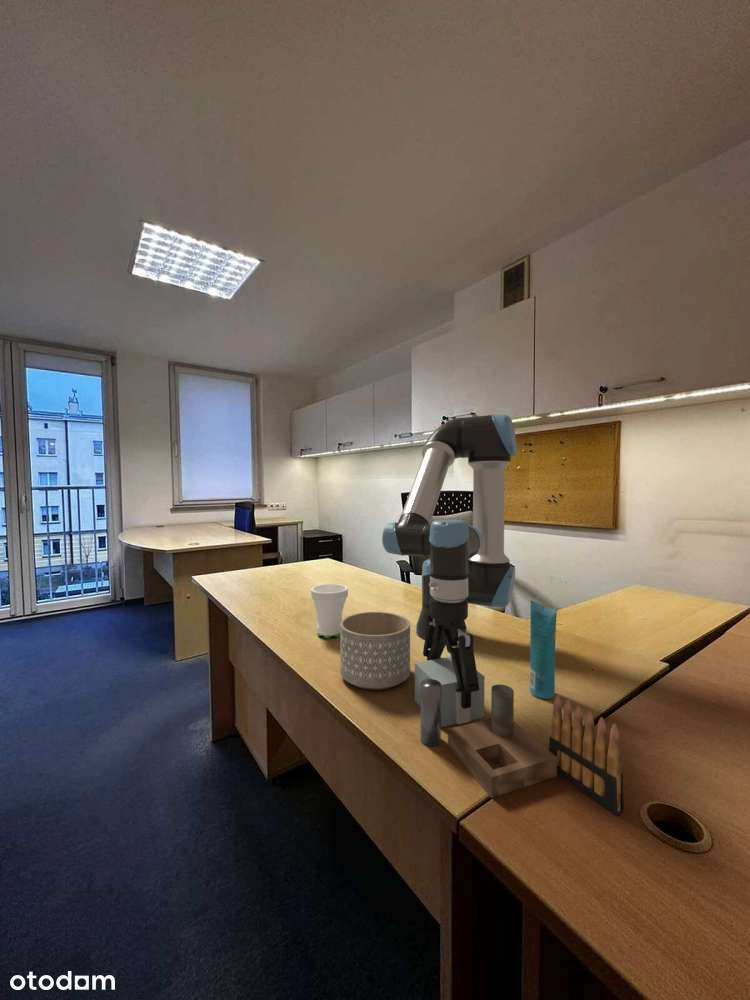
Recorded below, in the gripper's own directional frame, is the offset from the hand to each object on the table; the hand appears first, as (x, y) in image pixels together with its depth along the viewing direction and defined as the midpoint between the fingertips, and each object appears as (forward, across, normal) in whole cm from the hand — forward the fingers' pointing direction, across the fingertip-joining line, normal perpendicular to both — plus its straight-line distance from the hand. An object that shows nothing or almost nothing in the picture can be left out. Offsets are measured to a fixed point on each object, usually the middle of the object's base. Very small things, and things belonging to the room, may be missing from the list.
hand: (448, 707), depth 79 cm
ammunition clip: (+1, +25, +8) cm, 26 cm away
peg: (0, +8, -8) cm, 11 cm away
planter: (+1, -18, -9) cm, 20 cm away
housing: (0, 0, 0) cm, 0 cm away
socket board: (0, +16, 0) cm, 16 cm away
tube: (0, +2, +22) cm, 22 cm away
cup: (0, -47, -13) cm, 49 cm away
